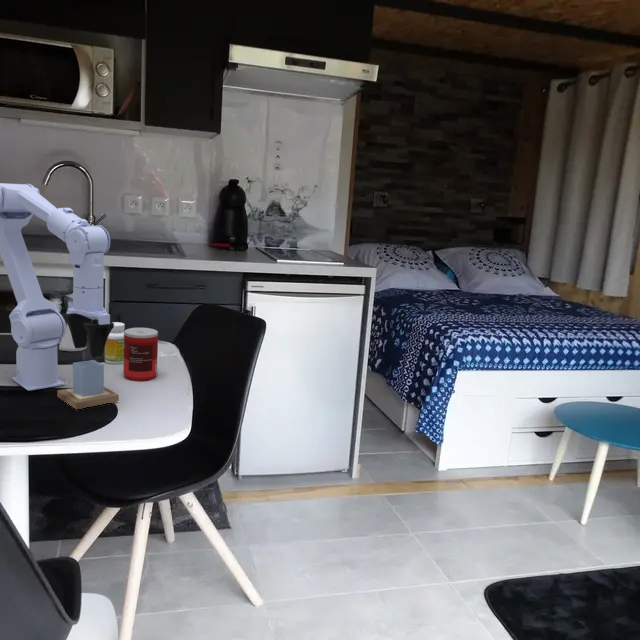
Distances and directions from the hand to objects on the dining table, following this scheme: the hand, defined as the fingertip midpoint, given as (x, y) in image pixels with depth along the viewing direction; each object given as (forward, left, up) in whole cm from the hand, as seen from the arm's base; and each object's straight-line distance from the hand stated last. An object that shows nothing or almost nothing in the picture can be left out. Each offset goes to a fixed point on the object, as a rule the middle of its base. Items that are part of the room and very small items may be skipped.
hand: (88, 351), depth 130 cm
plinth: (0, 0, -10) cm, 10 cm away
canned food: (-9, +17, -11) cm, 22 cm away
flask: (-39, +14, -11) cm, 43 cm away
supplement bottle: (-23, +18, -11) cm, 31 cm away
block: (0, 0, -9) cm, 9 cm away
